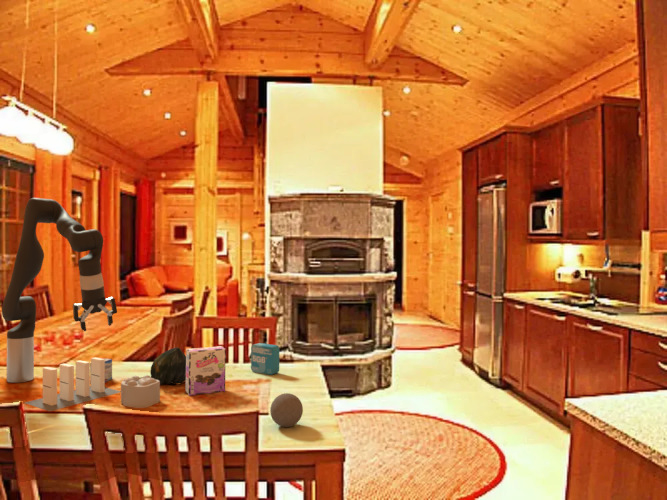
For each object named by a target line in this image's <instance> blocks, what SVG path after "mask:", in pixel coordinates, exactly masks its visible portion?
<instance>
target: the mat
mask: <svg viewBox="0 0 667 500" xmlns="http://www.w3.org/2000/svg"><path fill="white" fill-rule="evenodd" d="M119 393H121V390H116V389H112V388H109V387H105V392H101V393H99V392H95V391H92V390H91V385H90V396H86V397H84V396H80V395H77V394H76V389H74V400H71V401H67V400H63V399H60V393H57V404H56V405H52V406H51V405H48V404H45V403H43V397H41V398H37V399H33V400H29V401H26V402H24V404H26V405H28V406H32V407H35V408H38V409H41V410H44V411H47V412H53V411H56V410H60V409H61V410H62V409H65V408H68V407H71V406H76V405H78V404H79V405H80V404H82V403H87V402H90V401H93V400H97V399H101V398H105V397H108V396H111V395H115V394H119Z"/></svg>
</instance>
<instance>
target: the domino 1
mask: <svg viewBox="0 0 667 500" xmlns="http://www.w3.org/2000/svg"><path fill="white" fill-rule="evenodd" d="M57 394H58V369H57V368H54V367H50V366H46V367H45V366H44V367H42V398H43V403H45V404H48V405H51V406H52V405H56V404H57Z"/></svg>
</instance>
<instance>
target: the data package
mask: <svg viewBox="0 0 667 500" xmlns="http://www.w3.org/2000/svg"><path fill="white" fill-rule="evenodd" d="M250 349H251V352H250V354H251V355H250V361H251V362H250V370H251V372H253V373H257V374H263V375H268V376H273V375H274V374H275V375H276V374H278V373H279V371H280V347H279V345H277V344H269V343H264V342H263V343H262V342H259V343H254V344H252V345H251V348H250Z"/></svg>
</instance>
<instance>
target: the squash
mask: <svg viewBox="0 0 667 500" xmlns="http://www.w3.org/2000/svg"><path fill="white" fill-rule="evenodd" d="M149 372H150V377H151V378H154V379H156V380H159V381H160V386H163V385H166V384H167V385H171V384H175V385H176V384H177V385H180V384H181V385H182V384H183V383H184V382H186V353H184V352H183V350H182V349H181V348H179V347H173V348H170V349H168V350H166V351H164V352H162V353H161V354H159V355H158V356H157V357H156V358H155V359H154V360H153V362H152V364H151V365H150V371H149Z"/></svg>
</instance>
